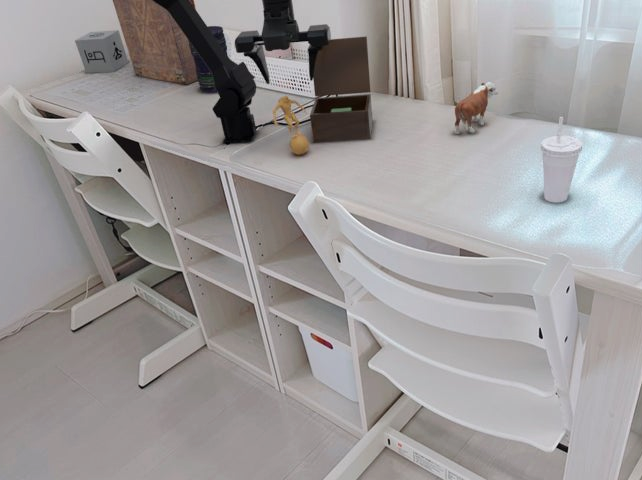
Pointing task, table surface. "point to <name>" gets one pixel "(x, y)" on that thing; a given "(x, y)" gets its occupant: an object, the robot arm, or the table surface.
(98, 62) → the icon cube
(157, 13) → the book
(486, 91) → the bull figurine
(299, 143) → the figurine
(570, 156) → the smoothie
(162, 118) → the table surface
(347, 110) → the block
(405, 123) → the table surface
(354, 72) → the lid
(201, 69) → the storage jar
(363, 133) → the box
